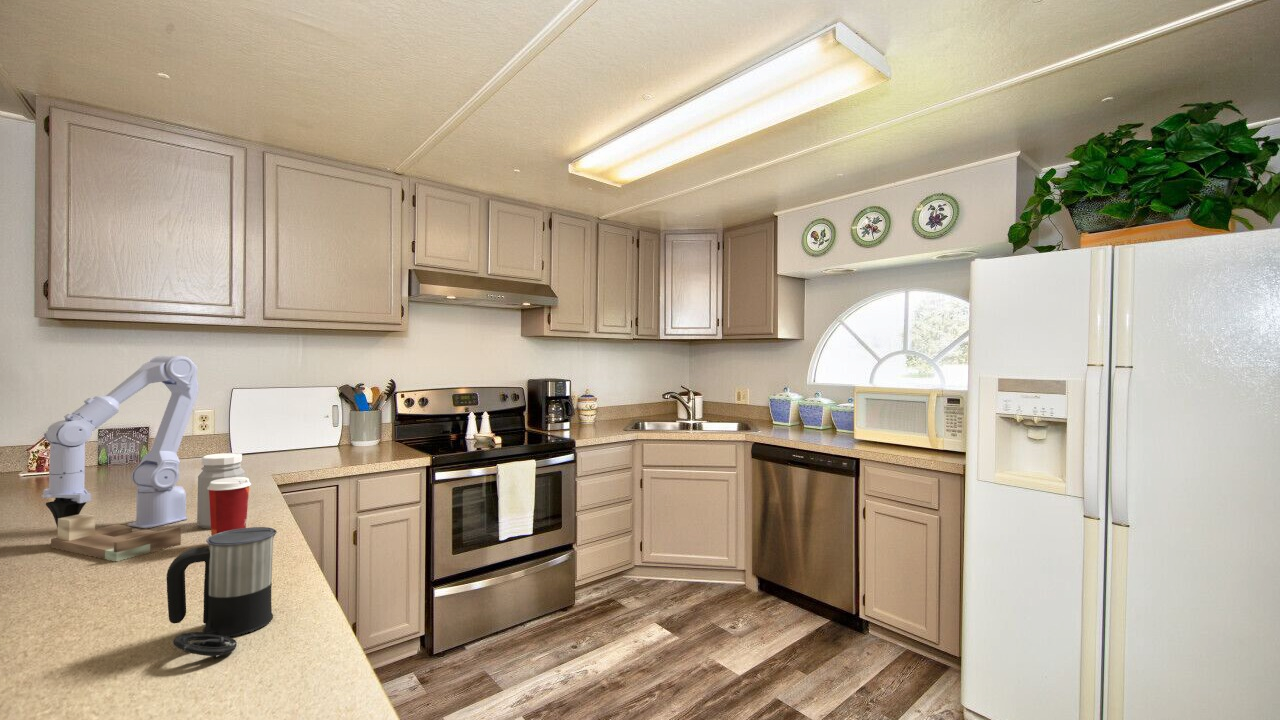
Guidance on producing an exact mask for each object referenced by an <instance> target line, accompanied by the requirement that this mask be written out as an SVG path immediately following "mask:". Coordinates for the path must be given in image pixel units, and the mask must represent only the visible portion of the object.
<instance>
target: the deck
mask: <svg viewBox="0 0 1280 720" xmlns="http://www.w3.org/2000/svg"><path fill="white" fill-rule="evenodd" d="M181 534H182V528H181V526H175V527H171V528H168V529H167V528H166V529H163V530H159V531H156V530H150V529H145V528H144V529H141V530H137V531H133V526H128V525H122V524H118V523H117V524H112V525H108V526H104V527H99V528H95V535H92V536H88V537H83V538H79V539H74V540H70V541H68V540H63V539H58V537H53V538H51V539H50V548H51V549H54V548H56V549H55V550H59V549H61V550H60V551H64V550H66V551H65V552H68V551H70V552H69V553H73V552H75V553H74V554H78V553H79V554H78V555H82V554H84V556H87V555H88V557H91V556H94V557H93V558H96V557H98V558H97V559H101V558H103V559H102V560H105V559H108V560H107V561H110V560H113V561H112V562H115V561H118V562H121V561H120V560H122V561H124V560H123V559H125V560H128V559H127V558H129V559H131V557H133V558H135V557H134V556H136V557H140V556H143V555H142V554H144V555H146V554H145V553H147V554H150V553H149V552H151V553H154V552H157V551H156V550H158V551H161V550H160V549H162V550H164V549H163V548H165V549H169V548H172V547H171V546H173V547H176V546H180V545H181V544H182V542H181V541H182V539H181V538H182V535H181ZM168 547H169V548H168ZM153 551H154V552H153ZM139 555H140V556H139Z"/></svg>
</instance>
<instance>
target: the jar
mask: <svg viewBox="0 0 1280 720" xmlns="http://www.w3.org/2000/svg"><path fill="white" fill-rule="evenodd" d="M242 461H243V453H238V452H225V453H223V452H221V453H213V454H207V455H204V456H203V457H201V465H203V467H201V470H202V471H201V472H200V473H199V475H198V476H197V503H196V505H197V512H196V523H197V524H198V525H199V527H200V528H202V529H208V530H209V529H210V530H211V520H210V501H209V490H208V489H207V488H208V487H209V484H210V482H211V481H214V480H217V479H223V478H232V477H246V471H245V470H244V469H243V468H242V466H243V464H241V462H242ZM197 524H196V525H197Z"/></svg>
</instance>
